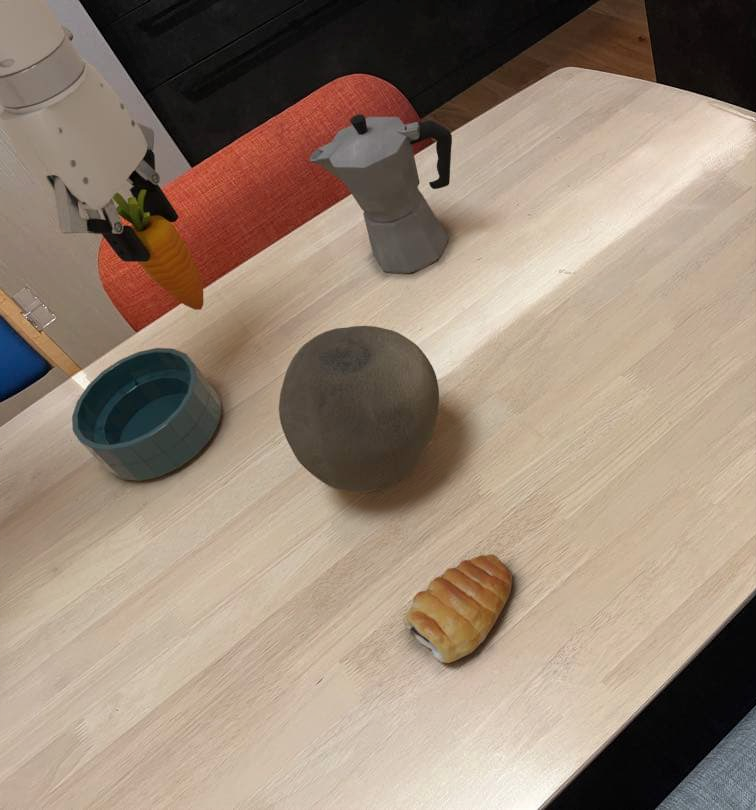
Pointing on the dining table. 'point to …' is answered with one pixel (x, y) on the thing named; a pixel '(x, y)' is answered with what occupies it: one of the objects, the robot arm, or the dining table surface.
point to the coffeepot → (391, 186)
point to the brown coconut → (359, 407)
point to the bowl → (147, 414)
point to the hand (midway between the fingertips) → (150, 238)
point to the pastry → (460, 607)
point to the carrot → (164, 252)
